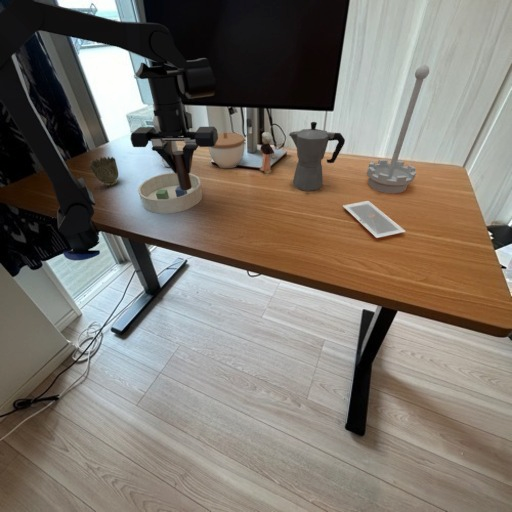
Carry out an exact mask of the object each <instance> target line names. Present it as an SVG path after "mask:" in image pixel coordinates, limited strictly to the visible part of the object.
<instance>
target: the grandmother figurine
mask: <svg viewBox="0 0 512 512" xmlns="http://www.w3.org/2000/svg"><path fill="white" fill-rule="evenodd" d="M272 140H273V136H272V134H271V133H270V132H268V131H264V132H263V133H262V134H261V142H262V144H261V146H260V147H259V148H260V151H259V153H260V154H262V161H261V167H260V168H259V171H261V172H263V173H264V174H267V175H268V174H271V173H272V169H271V159H272V160H275V159H276V158H275V157H276V156H275V151H274V149H273V147H272V146H271V144H270V143H271V142H272Z"/></svg>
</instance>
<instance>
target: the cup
mask: <svg viewBox="0 0 512 512" xmlns="http://www.w3.org/2000/svg"><path fill="white" fill-rule="evenodd" d="M88 166H89V167H90V169H91V170H92V172H93V175H94V176H95V177H96V179H97V180H98V181H100V182H101V183H104V185H105V186H106V187H107V188H110V187H114V186H116V185H117V184H118V181H117V180H118V178H119V169H118V165H117V161H116V158H115V157H113V156H111V157H109V156H107V157H105V156H104V157H100V158H99V159H98V158H95V160H94V159H92V160H90V161H89V163H88Z"/></svg>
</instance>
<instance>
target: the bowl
mask: <svg viewBox="0 0 512 512" xmlns="http://www.w3.org/2000/svg"><path fill="white" fill-rule="evenodd" d="M189 175H190V180H191V185H192V188H191V189H189V190H187V194H185V195H183V196H180V197H177V196H176V192H175V190H176V188H177V186H179V181H178V177H177V173H174V171H172V172H165V173H161V174H157V175H154V176H152V177H150V178H148V179H146V180H144V181H143V182H142V183H141V184H140V185H139V186H138V189H137V192H138V195H139V199H140V201H141V203H142V206H143V208H144V209H145V210H146V211H149V212H151V213H155V214H161V215H162V214H164V215H165V214H166V215H167V214H175V213H180V212H184V211H187V210H190V209H192V208H193V207H194V206H196V205H198V204H199V203H200V202H201V200H202V199H203V196H204V195H203V189H202V183H201V179H200V178H199V177H198V176H197V175H195V174H194V173H191V172H190V173H189ZM158 190H167V192H168V195H169V198H168V199H157V196H156V193H157V191H158Z"/></svg>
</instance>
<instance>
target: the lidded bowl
mask: <svg viewBox="0 0 512 512" xmlns="http://www.w3.org/2000/svg"><path fill="white" fill-rule="evenodd" d="M208 152H209V155H210V158H211V159H212V161H213V163H215V164H216V165H217V166H218V167H219V168H221V169H234V168H236V167H237V166H238V165H239V163H241V161H242V159H243V157H244V154H245V137H244V135H243V134H240V133H236V132H228V131H224V132H219V133H218V140H217V142H216V144H215V146H213V147H208ZM237 164H238V165H237ZM236 165H237V166H236Z"/></svg>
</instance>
